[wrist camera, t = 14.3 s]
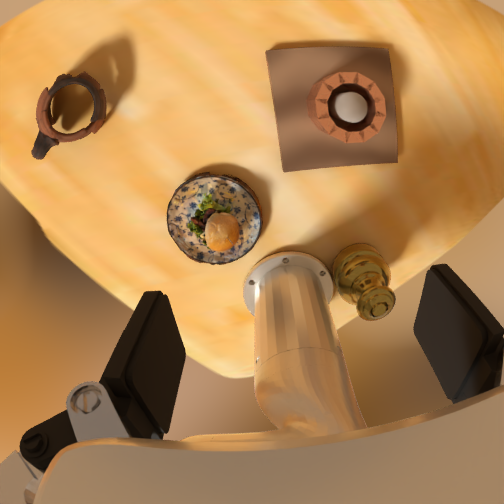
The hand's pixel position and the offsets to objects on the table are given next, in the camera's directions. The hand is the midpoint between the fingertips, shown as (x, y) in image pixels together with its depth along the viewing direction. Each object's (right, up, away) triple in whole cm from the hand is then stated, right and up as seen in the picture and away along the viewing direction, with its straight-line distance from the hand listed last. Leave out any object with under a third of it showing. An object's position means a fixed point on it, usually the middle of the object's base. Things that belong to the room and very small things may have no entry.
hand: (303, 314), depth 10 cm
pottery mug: (-24, +20, +20) cm, 37 cm away
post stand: (+8, +19, +20) cm, 28 cm away
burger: (-6, +7, +27) cm, 29 cm away
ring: (+8, +18, +19) cm, 27 cm away
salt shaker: (+13, 0, +30) cm, 33 cm away
